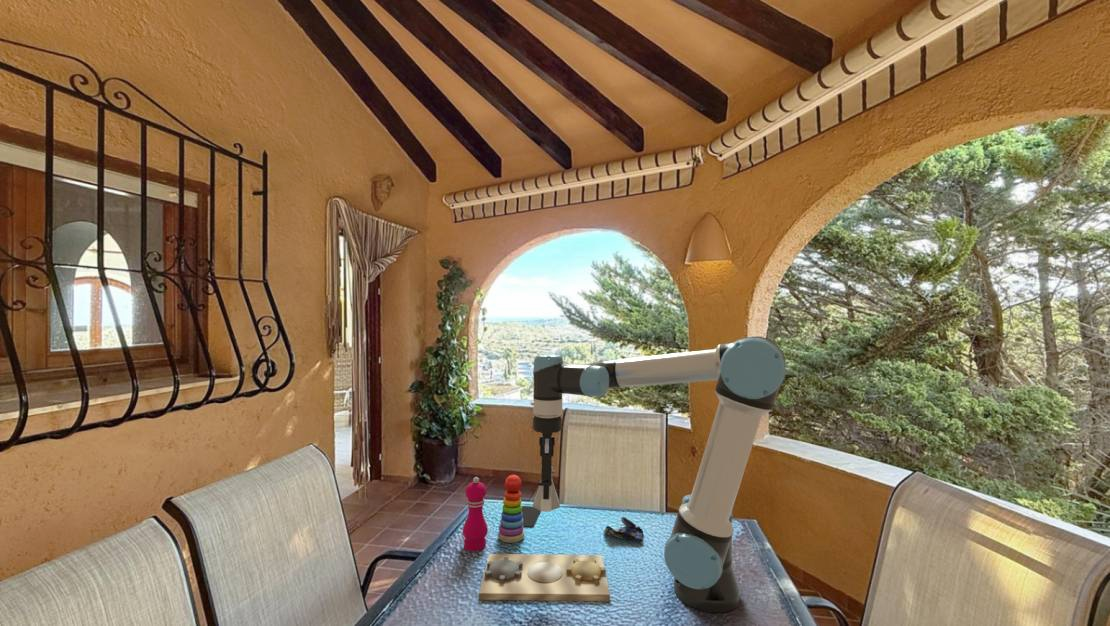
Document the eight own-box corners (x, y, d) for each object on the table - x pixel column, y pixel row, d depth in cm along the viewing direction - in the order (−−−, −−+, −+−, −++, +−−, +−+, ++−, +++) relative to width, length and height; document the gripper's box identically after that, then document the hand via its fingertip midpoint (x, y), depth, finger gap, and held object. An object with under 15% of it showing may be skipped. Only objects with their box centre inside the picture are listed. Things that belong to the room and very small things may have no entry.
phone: (510, 524, 146) (521, 505, 161) (510, 527, 146) (521, 507, 161) (533, 526, 145) (542, 507, 159) (533, 529, 145) (542, 509, 159)
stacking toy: (520, 545, 133) (521, 481, 133) (494, 542, 135) (495, 479, 135) (527, 533, 141) (528, 472, 141) (502, 530, 142) (503, 470, 143)
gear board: (601, 560, 125) (601, 550, 125) (609, 601, 107) (609, 589, 107) (489, 559, 125) (489, 549, 125) (478, 599, 107) (478, 588, 107)
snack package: (617, 525, 148) (597, 537, 139) (620, 506, 148) (601, 517, 139) (650, 543, 141) (631, 557, 132) (653, 523, 140) (635, 536, 131)
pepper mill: (490, 549, 130) (491, 479, 131) (464, 554, 128) (466, 482, 128) (484, 538, 137) (485, 471, 137) (460, 542, 134) (461, 474, 135)
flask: (536, 513, 112) (536, 472, 112) (529, 502, 119) (529, 463, 119) (564, 509, 114) (564, 470, 114) (555, 499, 121) (556, 461, 121)
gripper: (534, 407, 127) (533, 490, 127) (531, 423, 107) (529, 521, 107) (561, 407, 127) (560, 490, 127) (562, 423, 107) (561, 522, 107)
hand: (546, 504), depth 117 cm, fingers closed on flask, 7 cm apart
